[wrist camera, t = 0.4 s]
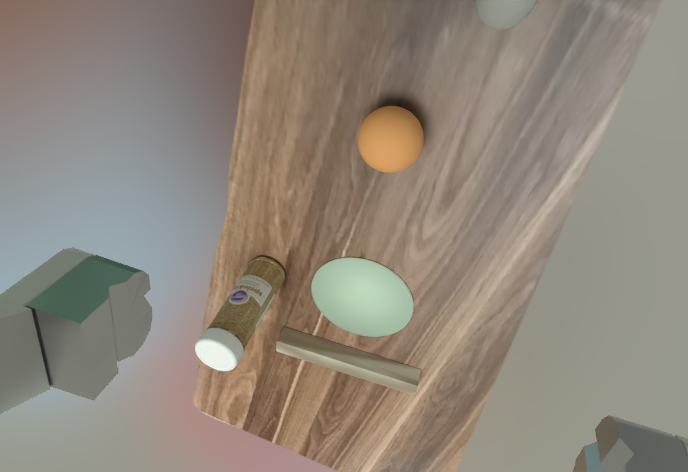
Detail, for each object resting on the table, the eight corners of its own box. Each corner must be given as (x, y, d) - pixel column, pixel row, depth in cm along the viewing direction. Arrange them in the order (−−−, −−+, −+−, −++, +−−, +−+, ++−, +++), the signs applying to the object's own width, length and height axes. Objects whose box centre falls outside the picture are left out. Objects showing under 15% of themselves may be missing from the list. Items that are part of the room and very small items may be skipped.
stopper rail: (284, 326, 67) (276, 341, 65) (421, 369, 64) (417, 386, 62) (283, 336, 68) (276, 351, 66) (417, 379, 65) (414, 395, 63)
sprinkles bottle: (276, 252, 59) (222, 340, 49) (292, 283, 61) (243, 372, 51) (243, 257, 61) (184, 342, 51) (260, 286, 63) (207, 373, 53)
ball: (372, 88, 44) (355, 115, 40) (435, 103, 43) (424, 132, 39) (362, 145, 48) (346, 175, 44) (421, 160, 47) (409, 192, 43)
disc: (316, 244, 57) (316, 245, 56) (424, 275, 55) (423, 276, 55) (308, 317, 64) (307, 319, 64) (402, 347, 62) (401, 348, 62)
